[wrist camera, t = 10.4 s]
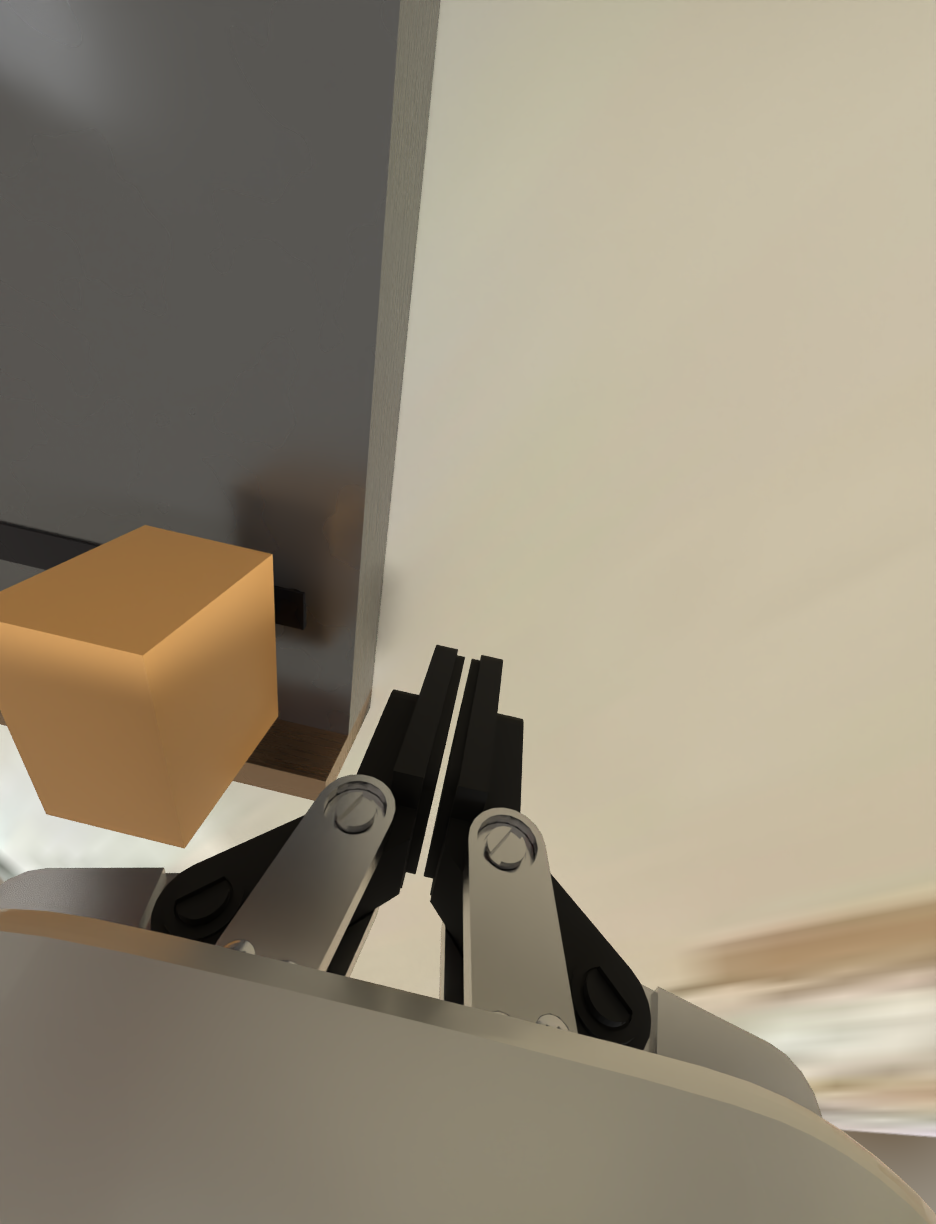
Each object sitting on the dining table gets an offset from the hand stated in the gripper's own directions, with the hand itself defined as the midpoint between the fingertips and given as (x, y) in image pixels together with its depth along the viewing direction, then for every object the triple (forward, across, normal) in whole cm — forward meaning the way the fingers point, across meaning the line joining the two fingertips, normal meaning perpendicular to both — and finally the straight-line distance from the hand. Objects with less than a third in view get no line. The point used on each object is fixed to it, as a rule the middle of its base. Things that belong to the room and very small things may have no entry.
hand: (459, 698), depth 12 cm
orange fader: (+2, +6, 0) cm, 7 cm away
